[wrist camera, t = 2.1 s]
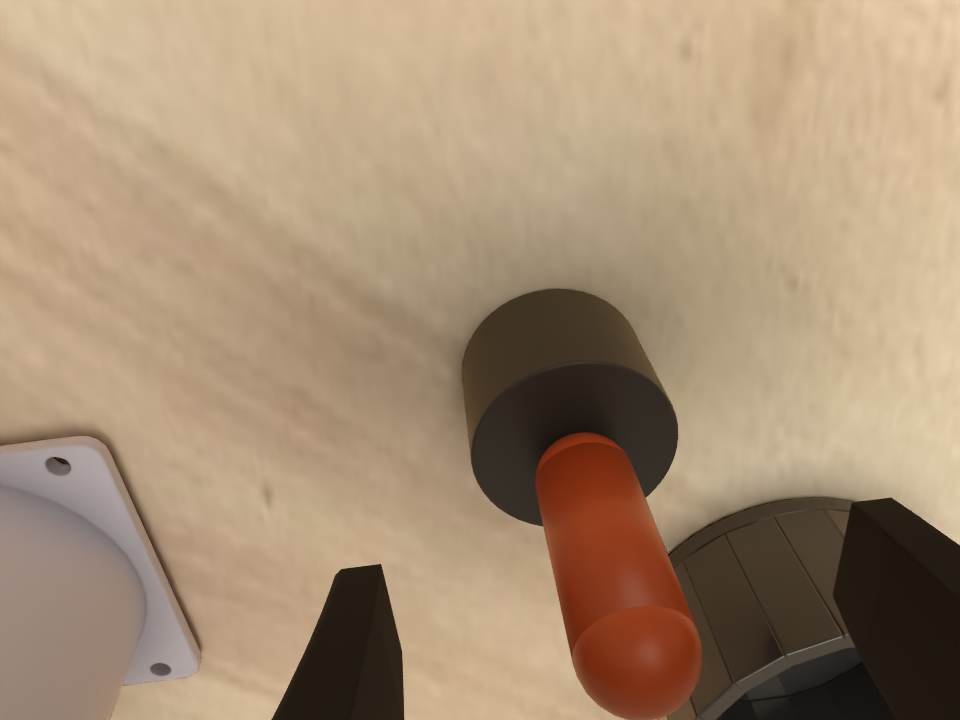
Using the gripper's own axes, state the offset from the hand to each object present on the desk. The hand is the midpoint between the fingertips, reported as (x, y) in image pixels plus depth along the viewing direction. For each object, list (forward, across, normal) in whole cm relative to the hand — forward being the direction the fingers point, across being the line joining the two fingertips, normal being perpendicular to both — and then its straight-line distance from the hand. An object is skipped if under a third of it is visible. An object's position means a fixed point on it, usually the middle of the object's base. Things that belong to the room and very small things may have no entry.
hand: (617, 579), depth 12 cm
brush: (+6, 0, 0) cm, 6 cm away
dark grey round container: (+6, -6, +9) cm, 12 cm away
